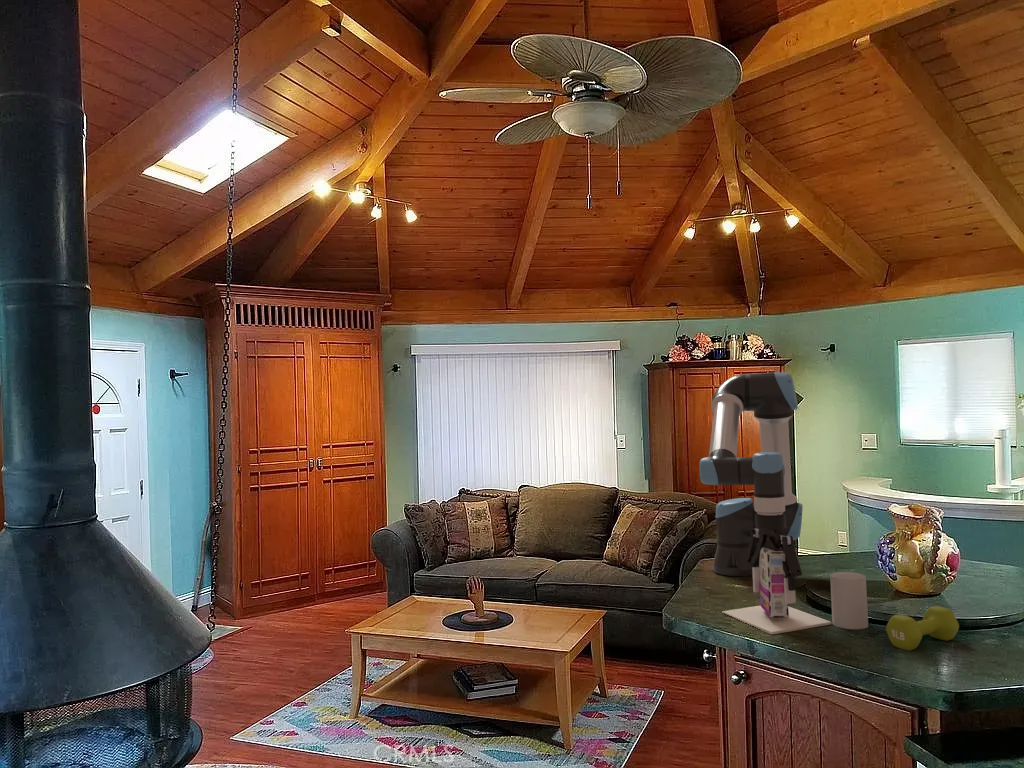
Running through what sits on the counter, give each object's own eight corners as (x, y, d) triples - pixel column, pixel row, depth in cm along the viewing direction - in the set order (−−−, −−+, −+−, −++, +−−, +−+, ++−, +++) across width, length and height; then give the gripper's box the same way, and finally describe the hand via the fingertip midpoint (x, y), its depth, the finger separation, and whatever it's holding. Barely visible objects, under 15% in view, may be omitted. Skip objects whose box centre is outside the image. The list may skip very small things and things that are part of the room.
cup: (873, 623, 191) (870, 574, 191) (861, 631, 185) (859, 581, 185) (839, 617, 197) (837, 570, 197) (827, 625, 191) (825, 576, 191)
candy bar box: (790, 618, 192) (787, 552, 192) (769, 618, 193) (766, 552, 193) (779, 605, 203) (776, 543, 203) (759, 606, 204) (757, 543, 204)
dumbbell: (914, 655, 168) (912, 621, 168) (882, 644, 175) (881, 613, 176) (963, 642, 175) (962, 610, 175) (931, 632, 182) (930, 602, 182)
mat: (778, 604, 210) (778, 602, 210) (831, 624, 191) (831, 621, 191) (722, 613, 204) (722, 611, 204) (771, 634, 185) (771, 632, 185)
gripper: (814, 517, 188) (819, 606, 188) (752, 505, 211) (756, 585, 211) (789, 520, 186) (793, 610, 185) (729, 508, 208) (733, 588, 208)
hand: (774, 597), depth 198 cm, fingers closed on candy bar box, 12 cm apart
